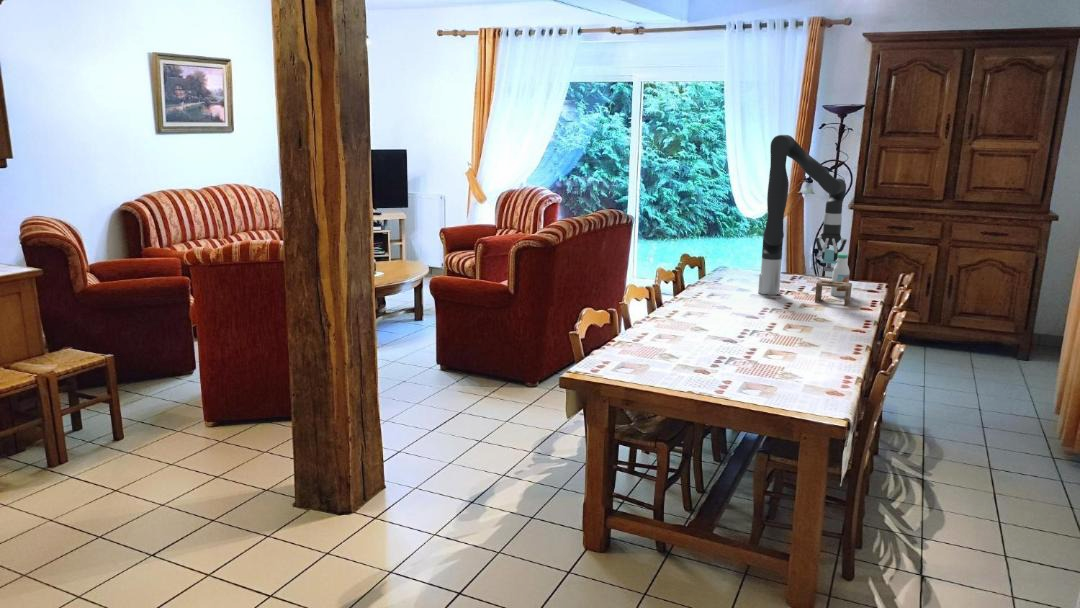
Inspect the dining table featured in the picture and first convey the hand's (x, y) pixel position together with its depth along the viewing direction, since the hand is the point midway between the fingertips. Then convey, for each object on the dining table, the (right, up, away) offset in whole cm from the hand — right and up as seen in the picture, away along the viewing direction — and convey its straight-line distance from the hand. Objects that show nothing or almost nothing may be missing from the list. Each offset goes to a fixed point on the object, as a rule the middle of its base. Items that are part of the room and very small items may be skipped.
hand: (829, 260), depth 352 cm
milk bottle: (+11, -16, +18) cm, 26 cm away
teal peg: (0, -5, +1) cm, 5 cm away
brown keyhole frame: (+3, -19, +3) cm, 20 cm away
